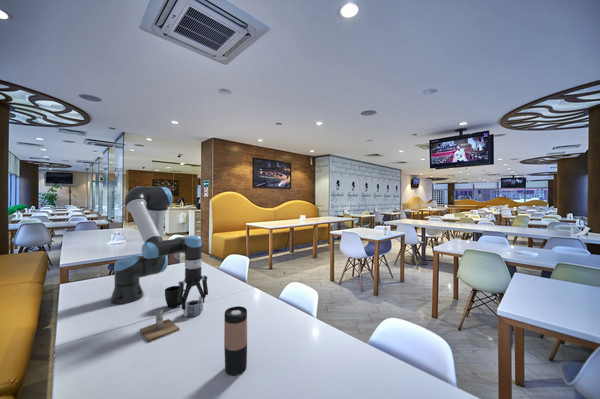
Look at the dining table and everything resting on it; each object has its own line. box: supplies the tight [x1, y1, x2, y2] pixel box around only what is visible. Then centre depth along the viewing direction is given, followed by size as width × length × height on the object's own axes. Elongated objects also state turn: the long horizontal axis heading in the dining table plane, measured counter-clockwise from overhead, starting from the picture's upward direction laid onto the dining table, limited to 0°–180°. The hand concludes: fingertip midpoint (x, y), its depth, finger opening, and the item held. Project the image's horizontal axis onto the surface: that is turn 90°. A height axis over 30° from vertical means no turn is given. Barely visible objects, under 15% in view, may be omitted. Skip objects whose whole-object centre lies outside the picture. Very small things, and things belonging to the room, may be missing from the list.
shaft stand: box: [139, 308, 180, 343], centre depth 109 cm, size 12×12×9 cm
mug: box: [164, 285, 185, 309], centre depth 133 cm, size 8×12×10 cm
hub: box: [186, 299, 203, 318], centre depth 125 cm, size 7×7×5 cm
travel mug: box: [223, 305, 248, 377], centre depth 86 cm, size 8×8×20 cm
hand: (193, 312), depth 125 cm, fingers closed on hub, 7 cm apart
